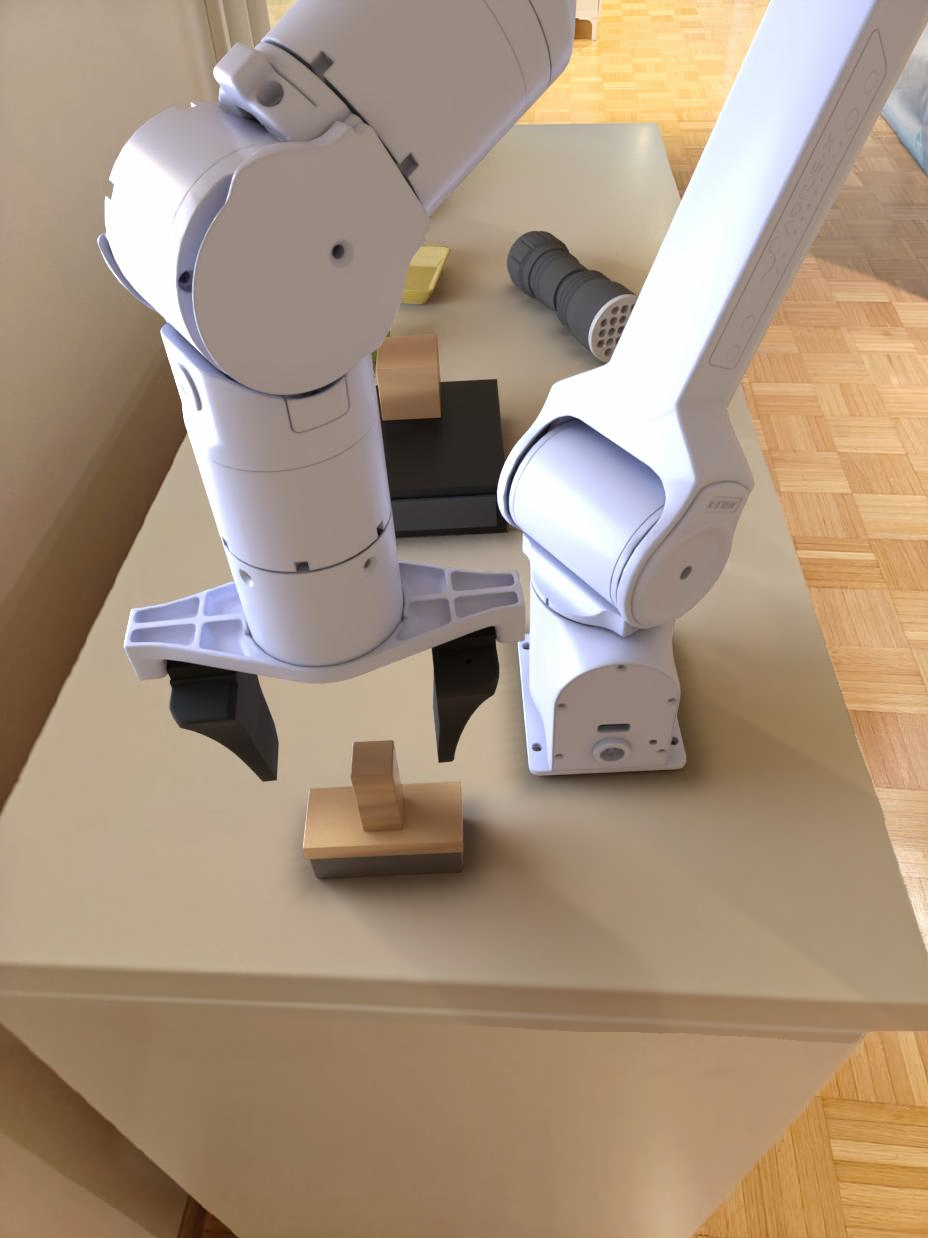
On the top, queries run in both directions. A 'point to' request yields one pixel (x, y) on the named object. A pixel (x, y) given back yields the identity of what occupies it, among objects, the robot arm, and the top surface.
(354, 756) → the brush
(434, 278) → the yellow square dish
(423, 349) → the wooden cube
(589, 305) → the flashlight
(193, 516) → the top surface
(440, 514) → the box
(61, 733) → the top surface
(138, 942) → the top surface
